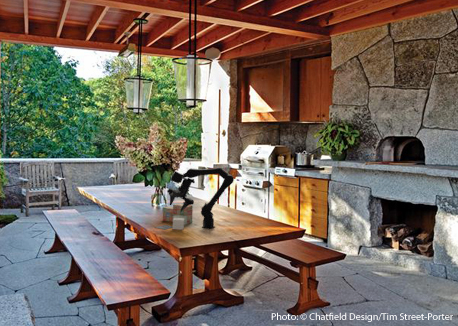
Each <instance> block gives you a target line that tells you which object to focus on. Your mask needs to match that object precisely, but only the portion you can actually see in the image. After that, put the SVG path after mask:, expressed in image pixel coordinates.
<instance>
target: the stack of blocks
mask: <svg viewBox="0 0 458 326" xmlns="http://www.w3.org/2000/svg"><path fill="white" fill-rule="evenodd" d="M182 206H183V203H173V204H172V206H171V205H167V206H165V207H162V221H165V222H172V223H173V216H175V215H178V214H179V215H187V224H186V225H188V224H191V223H193V212H194V210H193V209H194V207H193V205H192V204H191V205H188V206H187V207H186V208H185V209H184V210H183V211H182V212H181V208H182Z"/></svg>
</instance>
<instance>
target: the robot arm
mask: <svg viewBox="0 0 458 326" xmlns="http://www.w3.org/2000/svg"><path fill="white" fill-rule="evenodd" d="M208 175H219V176H220V177H221V179H223V180H222V183H221V185H220V186H219V188H218V190H216V192H215V193H214V195H213V196H212V197H211V198H210V200H209V202H204V204H203V206H202V207H201V211H200V214H201V216H202V217H203V220H202V226H201V228H202V229H209V230H210V229H214V228H216V225H215V224H214V223H215V220H214V219H215V218H214V213H213V212H212V210H213V208H214V206H215V205H216V203H217V201H219V199H220V197H222V195H223V193H224V192H225V190H227V189H228V188H229V187H230V186H231V185H232V184H233V183H234V179H235V178H234V176H233V175H232V174H229V173H228V172H226V171H225V170H224V169H223V168H222V167H216V168H215V167H214V168H205V169H204V168H203V169H201V168H199V169H198V168H189V169H187V171H186V172H184V173H181V172H178V171H176V170H174V173H173V174H172V176H171V178H170V181H172V182H174V183H175V184H180V186H178V187H177V188H168V190H167V193H168V195H169V206H172V205H173V204H174V201H175V200H176V198H180V199H182V200H184V202H183V203H182V204H183V206H182V208H181V212H182V211H183V210H184V209H185V208H186V207H187V206H188V205H192V206H193V205H194V203H195V201H194V200H193V199H192V198H191V197H187V196H188V195H187V194H188V192H190V187H191V185H192V184H195V183H196V182H195V179H194V178H196V177H199V176H208ZM214 225H215V226H214Z"/></svg>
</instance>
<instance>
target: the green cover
mask: <svg viewBox="0 0 458 326" xmlns="http://www.w3.org/2000/svg"><path fill="white" fill-rule="evenodd" d="M174 218H184V226H186V225H188V224H187V215H179V214H178V215H175V216H173V219H174Z"/></svg>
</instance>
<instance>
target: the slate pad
mask: <svg viewBox="0 0 458 326" xmlns="http://www.w3.org/2000/svg"><path fill="white" fill-rule="evenodd" d="M154 228H156V229H161V230H165V231H166V230H170V229H172V228H173V225H168V224H163V225H158V226H154Z"/></svg>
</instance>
